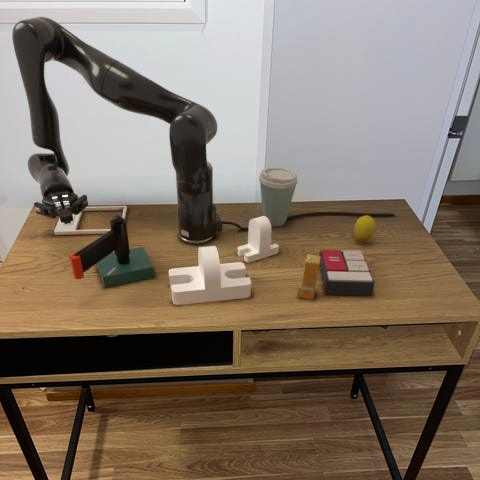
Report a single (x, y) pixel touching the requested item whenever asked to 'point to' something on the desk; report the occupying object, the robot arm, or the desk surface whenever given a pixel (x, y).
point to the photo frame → (72, 227)
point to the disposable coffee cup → (277, 193)
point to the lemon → (364, 228)
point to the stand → (125, 268)
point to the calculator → (345, 273)
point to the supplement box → (310, 276)
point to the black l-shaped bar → (102, 247)
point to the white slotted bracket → (209, 280)
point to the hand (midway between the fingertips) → (67, 220)
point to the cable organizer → (258, 241)
